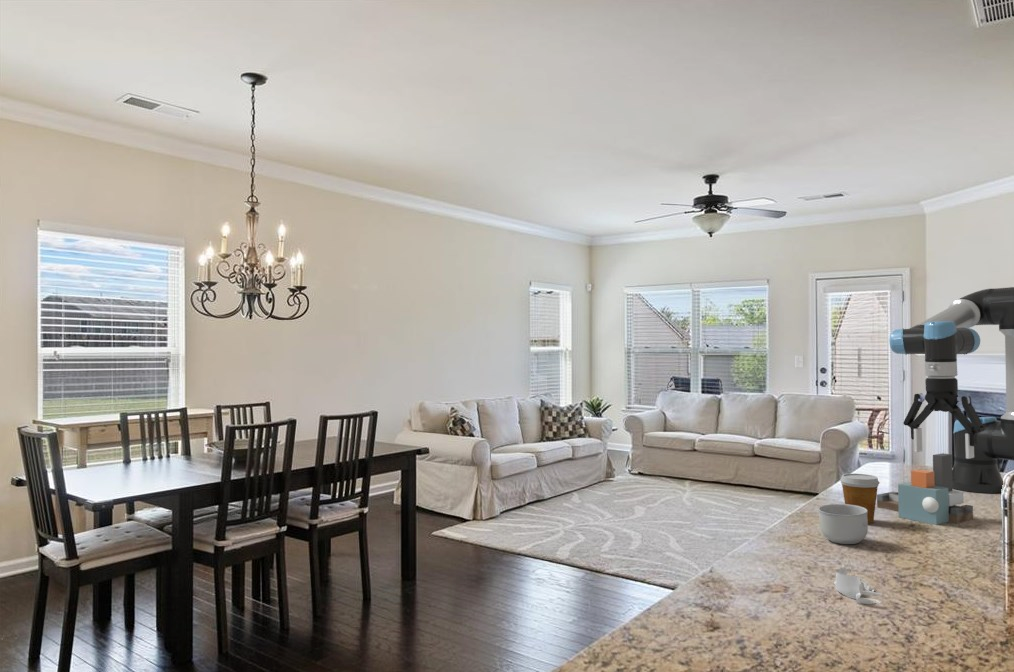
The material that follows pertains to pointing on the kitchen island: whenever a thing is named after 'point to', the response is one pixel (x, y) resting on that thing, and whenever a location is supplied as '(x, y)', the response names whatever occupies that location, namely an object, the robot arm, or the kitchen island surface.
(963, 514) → the rail board
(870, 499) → the disposable coffee cup
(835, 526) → the light gray bowl
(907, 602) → the kitchen island surface
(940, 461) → the carriage
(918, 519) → the cabinet
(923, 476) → the button
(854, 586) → the white figurine
